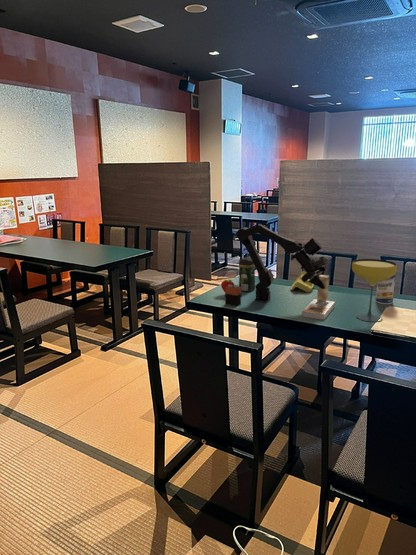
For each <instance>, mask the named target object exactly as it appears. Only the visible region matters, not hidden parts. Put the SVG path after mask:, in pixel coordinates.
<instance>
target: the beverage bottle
mask: <svg viewBox="0 0 416 555" xmlns="http://www.w3.org/2000/svg"><path fill="white" fill-rule="evenodd" d="M395 285H396V274H395V275H393V276H392V277H390V278H387V279H384V280H381V281H379V282H378V283H377V284H376V292H375V299H374V300H375V303H378V304H380V305H391V304H393V303H394V293H395Z"/></svg>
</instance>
